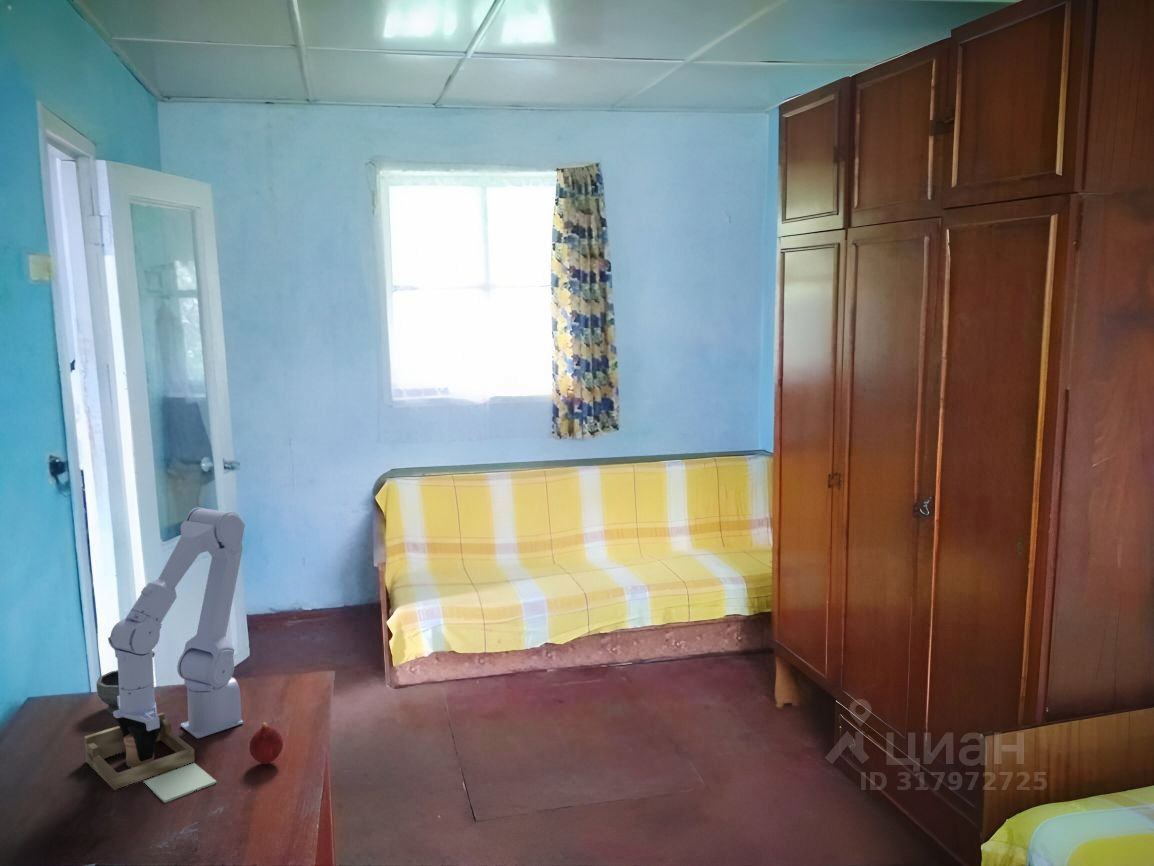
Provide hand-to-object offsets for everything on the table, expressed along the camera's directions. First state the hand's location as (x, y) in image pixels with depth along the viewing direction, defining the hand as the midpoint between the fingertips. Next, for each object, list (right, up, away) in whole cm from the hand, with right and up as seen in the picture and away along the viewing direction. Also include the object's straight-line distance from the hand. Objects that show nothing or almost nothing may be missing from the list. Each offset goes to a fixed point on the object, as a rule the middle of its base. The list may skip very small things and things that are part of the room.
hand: (140, 753), depth 162 cm
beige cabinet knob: (0, -2, 0) cm, 2 cm away
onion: (+23, -2, 0) cm, 23 cm away
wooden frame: (0, -2, 0) cm, 2 cm away
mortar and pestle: (-13, +1, +22) cm, 26 cm away
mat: (+10, -3, -7) cm, 13 cm away
